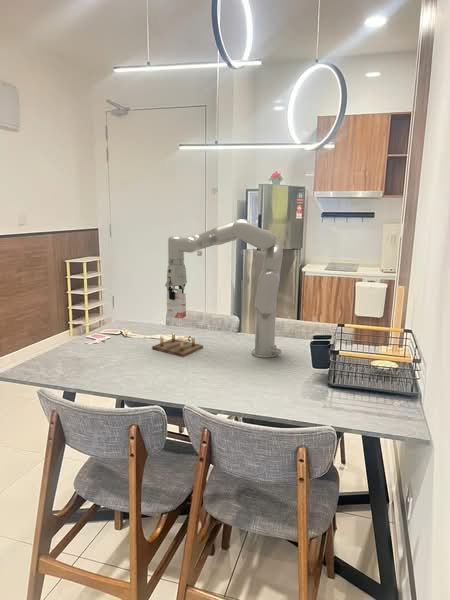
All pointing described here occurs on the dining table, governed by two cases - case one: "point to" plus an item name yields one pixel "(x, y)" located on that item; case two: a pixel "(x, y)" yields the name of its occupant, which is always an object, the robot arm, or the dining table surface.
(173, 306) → the ink cartridge box
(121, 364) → the dining table surface
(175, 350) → the walnut plate
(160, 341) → the brass pins
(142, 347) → the dining table surface
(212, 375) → the dining table surface
